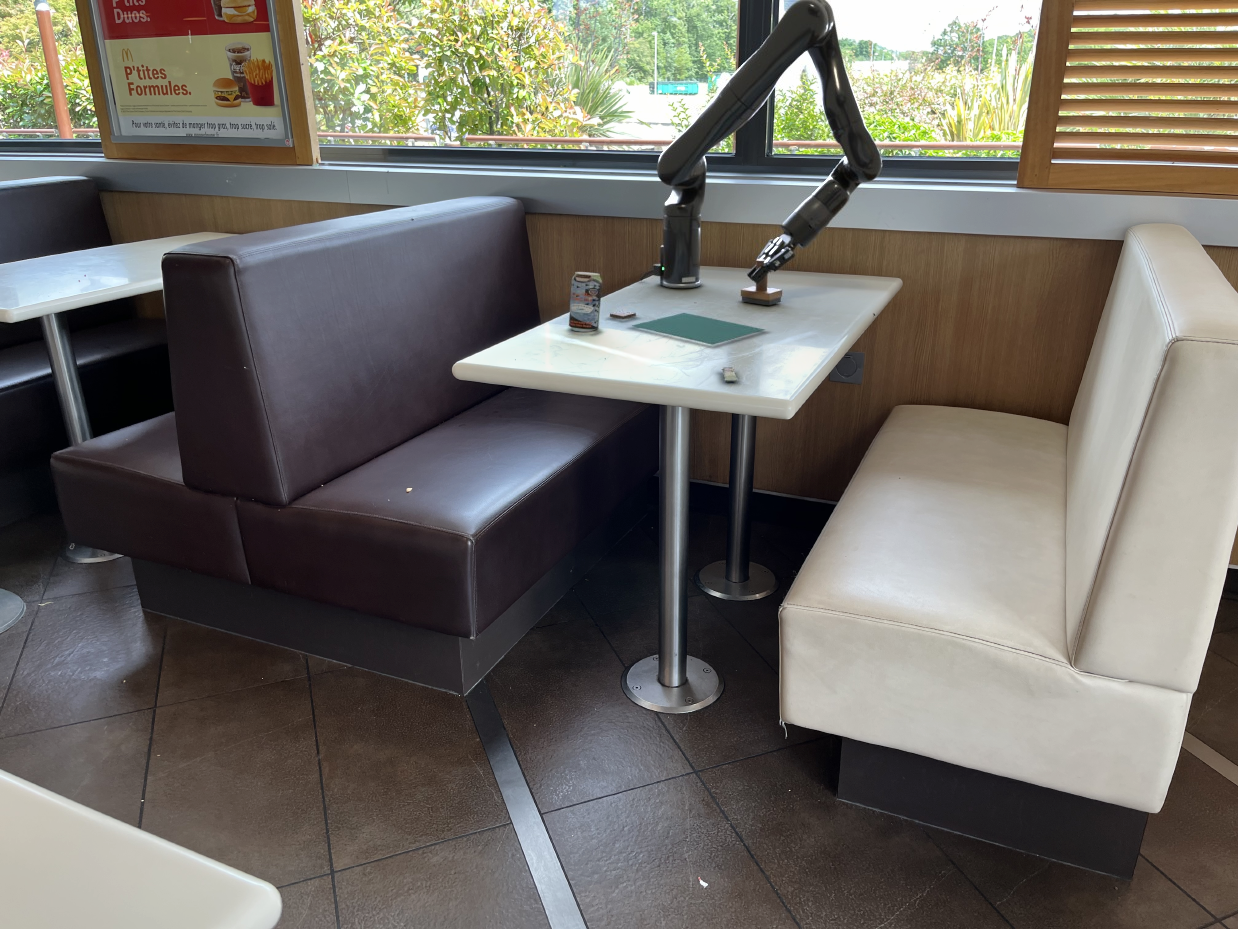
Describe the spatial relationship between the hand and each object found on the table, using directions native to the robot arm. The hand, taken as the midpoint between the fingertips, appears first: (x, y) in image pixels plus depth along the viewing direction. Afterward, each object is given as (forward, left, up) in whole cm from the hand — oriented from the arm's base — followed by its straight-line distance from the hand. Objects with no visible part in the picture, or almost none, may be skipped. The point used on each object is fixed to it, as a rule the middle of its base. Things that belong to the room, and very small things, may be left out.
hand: (751, 279), depth 201 cm
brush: (+1, +2, -5) cm, 6 cm away
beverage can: (-8, -43, -6) cm, 44 cm away
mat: (+8, -27, -6) cm, 29 cm away
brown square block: (-11, -31, -6) cm, 33 cm away
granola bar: (+34, -48, -6) cm, 59 cm away
